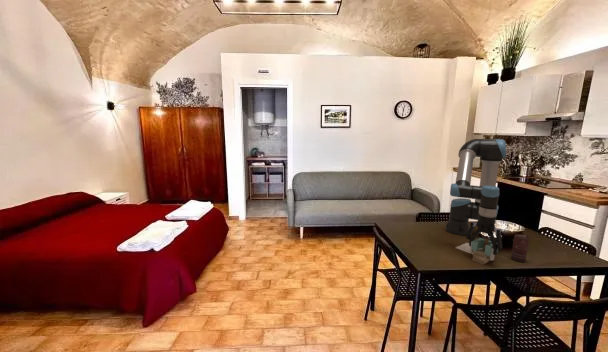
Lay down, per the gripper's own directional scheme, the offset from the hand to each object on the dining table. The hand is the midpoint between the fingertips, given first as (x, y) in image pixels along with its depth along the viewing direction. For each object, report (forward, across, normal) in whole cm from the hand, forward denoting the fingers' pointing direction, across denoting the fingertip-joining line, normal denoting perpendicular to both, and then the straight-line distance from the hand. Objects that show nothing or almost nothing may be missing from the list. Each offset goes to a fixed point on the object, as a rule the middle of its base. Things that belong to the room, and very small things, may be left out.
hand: (481, 256), depth 139 cm
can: (+3, +10, +20) cm, 22 cm away
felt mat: (+3, -9, +12) cm, 15 cm away
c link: (-2, 0, +2) cm, 3 cm away
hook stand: (+3, 0, +2) cm, 4 cm away
